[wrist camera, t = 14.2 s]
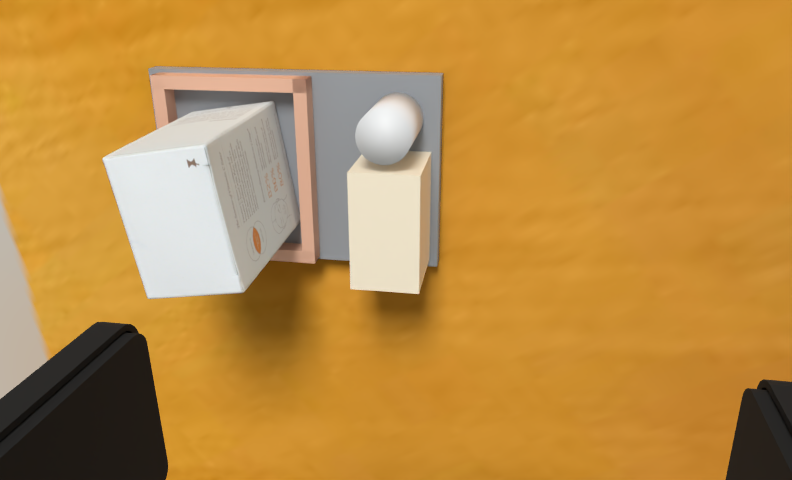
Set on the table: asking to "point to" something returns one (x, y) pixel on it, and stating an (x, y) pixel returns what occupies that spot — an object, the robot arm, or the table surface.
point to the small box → (205, 200)
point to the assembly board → (341, 160)
